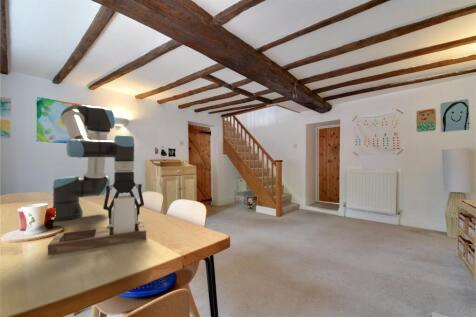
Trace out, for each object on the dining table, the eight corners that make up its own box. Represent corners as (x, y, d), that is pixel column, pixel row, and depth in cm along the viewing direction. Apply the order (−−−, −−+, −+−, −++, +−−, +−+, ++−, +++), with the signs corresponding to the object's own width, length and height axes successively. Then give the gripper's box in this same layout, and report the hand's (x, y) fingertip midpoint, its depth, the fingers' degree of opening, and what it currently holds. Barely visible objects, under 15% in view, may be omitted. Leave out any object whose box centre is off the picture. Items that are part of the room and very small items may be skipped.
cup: (138, 230, 98) (138, 195, 98) (127, 237, 90) (127, 198, 89) (121, 230, 99) (121, 195, 98) (108, 236, 90) (108, 198, 90)
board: (64, 232, 100) (64, 224, 100) (140, 222, 115) (140, 215, 115) (47, 255, 76) (47, 245, 76) (146, 239, 92) (146, 230, 92)
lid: (108, 220, 106) (108, 212, 106) (137, 216, 113) (137, 209, 113) (107, 227, 95) (107, 218, 95) (139, 223, 101) (139, 215, 101)
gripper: (94, 172, 86) (94, 230, 86) (151, 171, 96) (151, 222, 96) (96, 171, 92) (96, 225, 92) (149, 170, 102) (149, 218, 102)
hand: (124, 223), depth 94 cm, fingers closed on cup, 8 cm apart
